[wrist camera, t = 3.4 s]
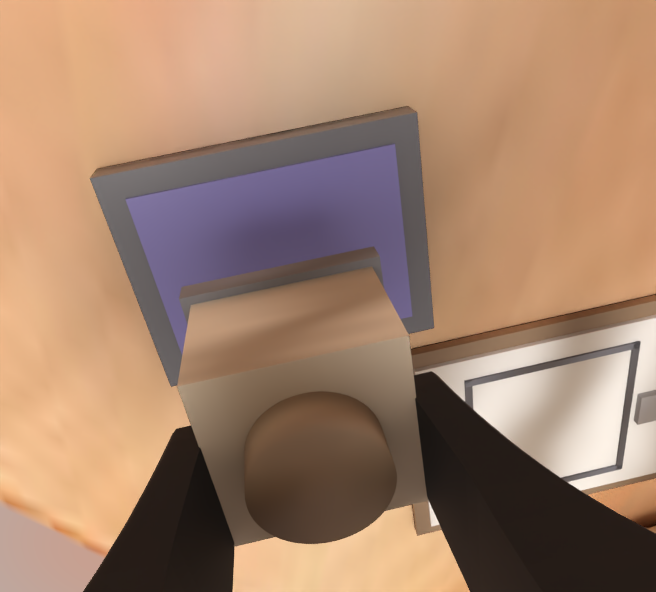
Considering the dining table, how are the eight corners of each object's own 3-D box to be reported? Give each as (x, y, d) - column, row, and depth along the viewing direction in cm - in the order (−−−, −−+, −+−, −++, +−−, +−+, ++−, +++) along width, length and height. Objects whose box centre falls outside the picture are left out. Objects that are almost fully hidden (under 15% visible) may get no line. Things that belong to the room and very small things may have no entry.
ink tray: (408, 105, 18) (418, 113, 17) (426, 314, 22) (435, 329, 21) (97, 168, 17) (89, 179, 16) (173, 370, 21) (170, 388, 20)
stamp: (373, 246, 13) (438, 354, 9) (395, 399, 15) (455, 545, 11) (181, 287, 12) (153, 417, 8) (230, 436, 14) (226, 601, 10)
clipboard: (710, 282, 23) (726, 292, 22) (671, 467, 29) (683, 480, 28) (392, 353, 23) (398, 366, 22) (415, 528, 28) (420, 544, 27)
